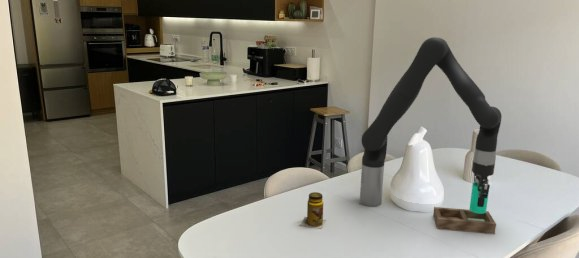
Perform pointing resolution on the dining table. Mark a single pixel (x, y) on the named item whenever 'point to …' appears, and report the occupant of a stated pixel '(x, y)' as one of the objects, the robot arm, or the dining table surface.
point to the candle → (474, 201)
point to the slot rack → (463, 220)
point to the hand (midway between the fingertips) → (478, 203)
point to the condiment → (314, 211)
